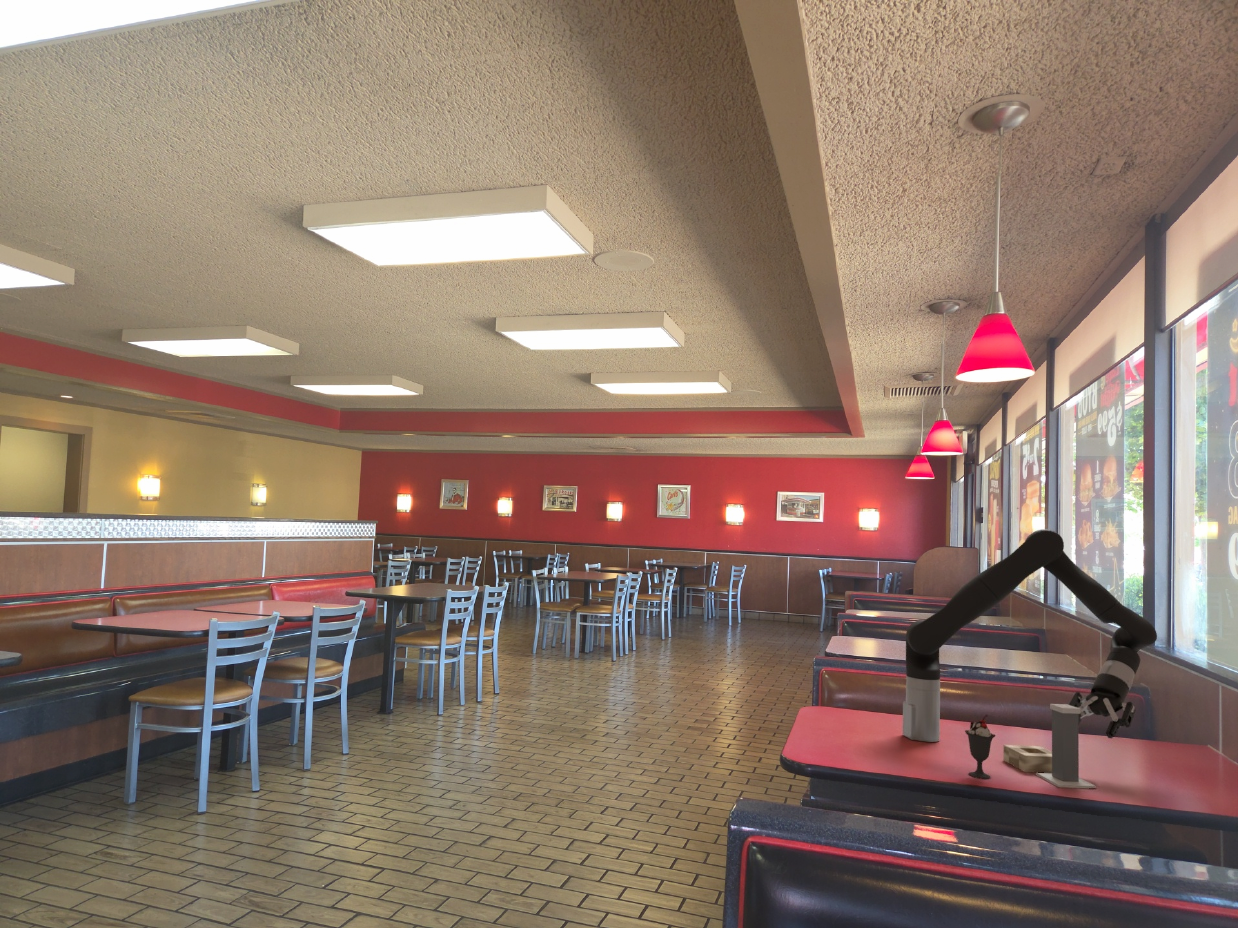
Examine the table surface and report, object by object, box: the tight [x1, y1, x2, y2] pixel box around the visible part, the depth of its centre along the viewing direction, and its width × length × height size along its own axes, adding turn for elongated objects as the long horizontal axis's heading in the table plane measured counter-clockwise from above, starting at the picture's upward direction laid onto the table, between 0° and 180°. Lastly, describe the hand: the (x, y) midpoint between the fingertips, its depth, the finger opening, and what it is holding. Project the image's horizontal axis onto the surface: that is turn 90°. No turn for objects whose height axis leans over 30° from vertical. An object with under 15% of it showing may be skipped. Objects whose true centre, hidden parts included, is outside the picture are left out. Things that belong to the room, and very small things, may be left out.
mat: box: [1035, 772, 1097, 789], centre depth 186 cm, size 9×9×1 cm
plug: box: [1049, 703, 1081, 782], centre depth 187 cm, size 5×5×17 cm
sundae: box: [964, 714, 996, 780], centre depth 188 cm, size 7×7×15 cm
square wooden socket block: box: [1003, 744, 1052, 773], centre depth 198 cm, size 10×10×4 cm
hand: (1090, 731), depth 193 cm, fingers open, 8 cm apart
